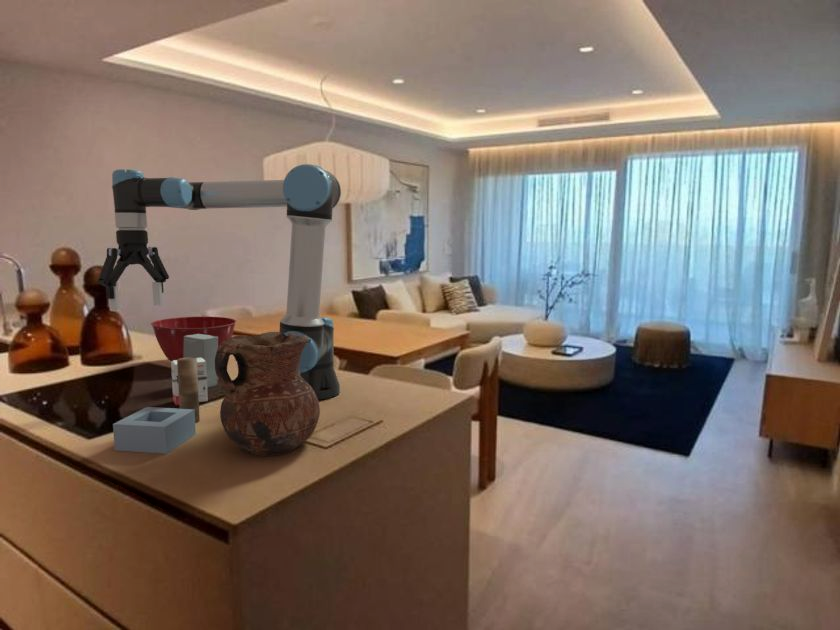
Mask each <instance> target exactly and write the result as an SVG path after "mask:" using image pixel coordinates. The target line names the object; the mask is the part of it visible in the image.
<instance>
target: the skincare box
mask: <svg viewBox="0 0 840 630" xmlns="http://www.w3.org/2000/svg"><path fill="white" fill-rule="evenodd" d="M217 349H218V337H216V336H210V335H203V334H194V335H187V336H184V352H183V358H187V357H193V358H203V359H204V360H205V361H206V372H207V389H209V388H211V387H215V386H217V385H218V378H217V375H216V371H215V356H216V352H217Z"/></svg>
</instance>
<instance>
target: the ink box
mask: <svg viewBox="0 0 840 630" xmlns="http://www.w3.org/2000/svg"><path fill="white" fill-rule="evenodd" d="M170 367H171V369H170V370H171V383H172V384H171V385H172V387H171V388H172V401H173V404H175V406H179V387H178V368H177V360H174V361H170ZM197 374H198V395H199V403H203V402H204V403H205V402H208V400H209V398H208V397H209V395H208V388H207V372H206V361H205V360H204V359H203V358H197Z"/></svg>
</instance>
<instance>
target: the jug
mask: <svg viewBox="0 0 840 630" xmlns="http://www.w3.org/2000/svg"><path fill="white" fill-rule="evenodd" d="M307 341H308V337H307V336H305V335H295V334H292V333H289V335H288V336H286V335H285V334H284V333H280V332H279V331H267V332H262V333H260V334H257V335H244V334H240V335H239V334H238V335H232V337H230V338H228V339H226V340H225V341H223V342H222V343H221V344H220V345H219V347H218V349H217V352H216V356H215V371H216V375H217V381H218V382H219V383H220V384H221V386H222V389H223V390H224V391H225V396H224V398H223V400H222V402H221V404H220V410H219V417H220V422H221V425H222V427H223V430H224V432H225V434H226V435H227V436H228V438H229V440H230V441H231V442H232V443H233V444H234V445H235V446H236V447H237V448H238V449H239V450H240V451H242V452H243V453H246V454H248V455H255V456H260V457H261V456H262V457H270V456H271V455H272V456H279V454H280V455H284V454H288V453H289V452H292V451H294V450H295V449H297V448H299V447H300V446H302V445H304V443H305V442H307V441H308V440H309V439H310V437H311V436H312V435H313V433H314V432H315V429H316V428H317V425H318V422H319V419H320V416H321V415H320V414H321V413H320V412H321V408H320V403H319V402H320V401H319V400H318V399H317V396H316V394H315V392H314V390H313V389H312V387H311V386H310V385H309V384H308V383H307V382H306V381H305V380H304V379H303V378H302V377H301V376H300V370H299V364H300V357H301V354H302V351H303V349H304V347H305V345H306V343H307ZM231 355H232V356H233V358H234V360H235V362H236V363H237V376H236V377H235V378H234V379H233V380H232V379H231V376H230V375H229V373H228V372H229V371H228V364H229V360H230V356H231ZM287 452H288V453H287Z"/></svg>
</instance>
